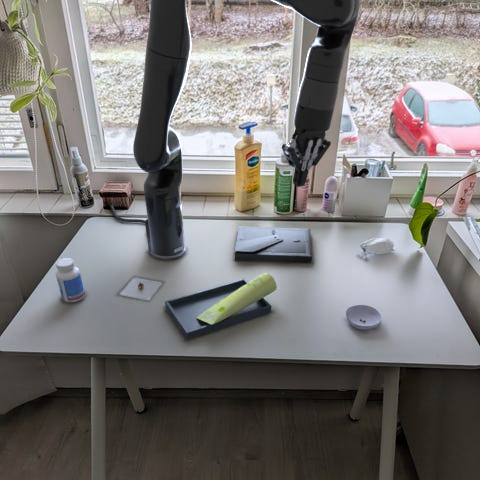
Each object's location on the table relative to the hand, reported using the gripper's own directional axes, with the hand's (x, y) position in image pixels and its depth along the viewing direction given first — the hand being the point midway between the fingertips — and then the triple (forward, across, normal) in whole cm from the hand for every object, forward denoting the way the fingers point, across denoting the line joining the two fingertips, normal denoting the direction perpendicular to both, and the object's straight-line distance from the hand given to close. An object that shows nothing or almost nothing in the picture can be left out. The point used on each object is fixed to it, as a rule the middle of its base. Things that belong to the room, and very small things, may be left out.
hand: (298, 185), depth 110 cm
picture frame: (+27, -12, -15) cm, 33 cm away
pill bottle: (+33, +41, -28) cm, 60 cm away
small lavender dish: (+24, -5, +23) cm, 34 cm away
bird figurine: (+23, -32, +6) cm, 39 cm away
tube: (+22, +5, +3) cm, 23 cm away
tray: (+28, +18, -1) cm, 34 cm away
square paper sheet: (+31, +27, -20) cm, 46 cm away
